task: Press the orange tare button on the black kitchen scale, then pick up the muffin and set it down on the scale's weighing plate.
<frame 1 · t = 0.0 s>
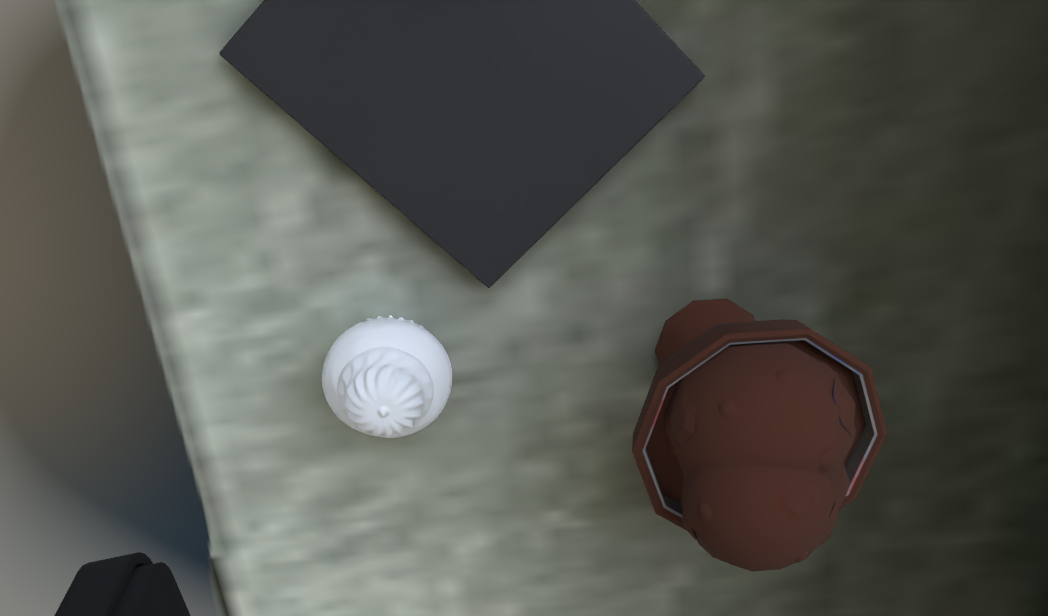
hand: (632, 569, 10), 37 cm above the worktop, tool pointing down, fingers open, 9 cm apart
muffin: (391, 344, 50), on the worktop
scale: (466, 59, 45), on the worktop
ice cream bowl: (707, 345, 52), on the worktop
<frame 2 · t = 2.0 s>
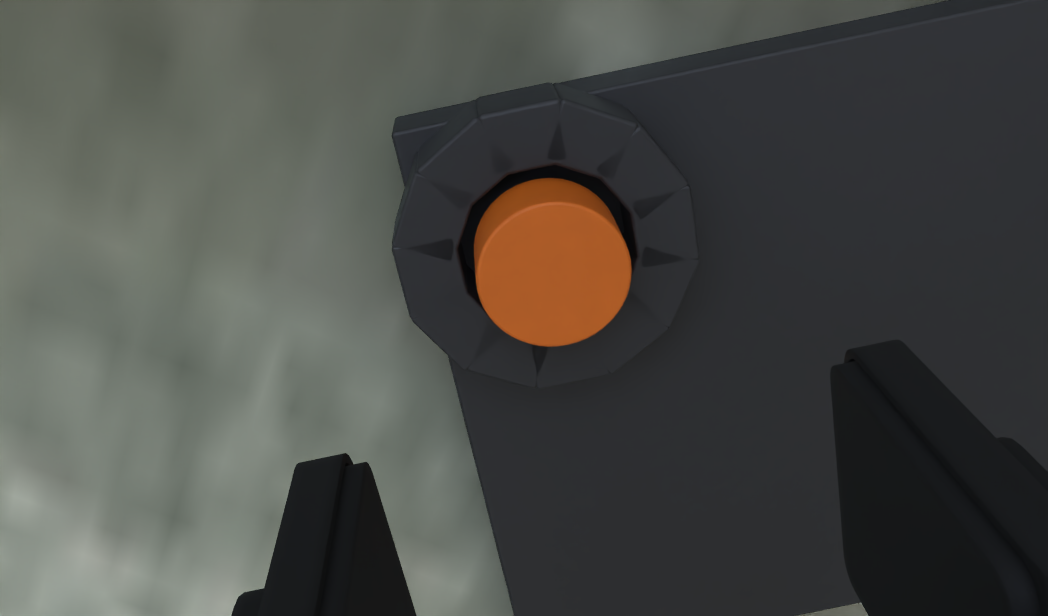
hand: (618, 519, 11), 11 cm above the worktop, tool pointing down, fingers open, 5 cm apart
scale: (801, 336, 23), on the worktop
tare button: (550, 261, 18), point 3 cm above the worktop, slide at 0.1 cm
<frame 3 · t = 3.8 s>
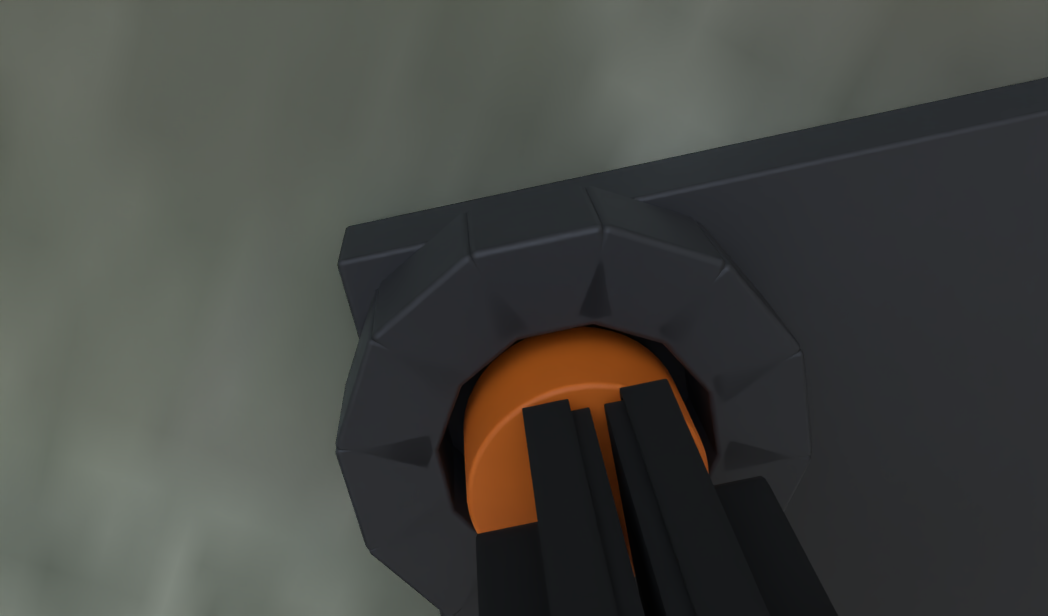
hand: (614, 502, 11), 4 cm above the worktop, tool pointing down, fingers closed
scale: (923, 512, 17), on the worktop
tare button: (580, 455, 12), point 3 cm above the worktop, slide at -0.3 cm, touching gripper
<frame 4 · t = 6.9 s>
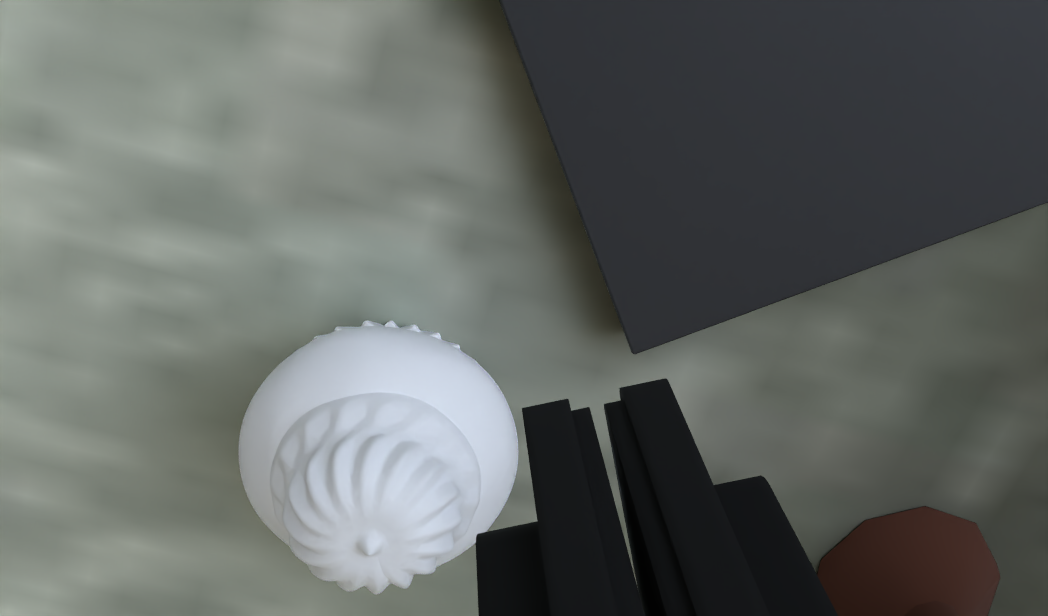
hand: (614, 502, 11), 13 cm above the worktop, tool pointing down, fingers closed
muffin: (389, 377, 25), on the worktop
ice cream bowl: (899, 580, 29), on the worktop
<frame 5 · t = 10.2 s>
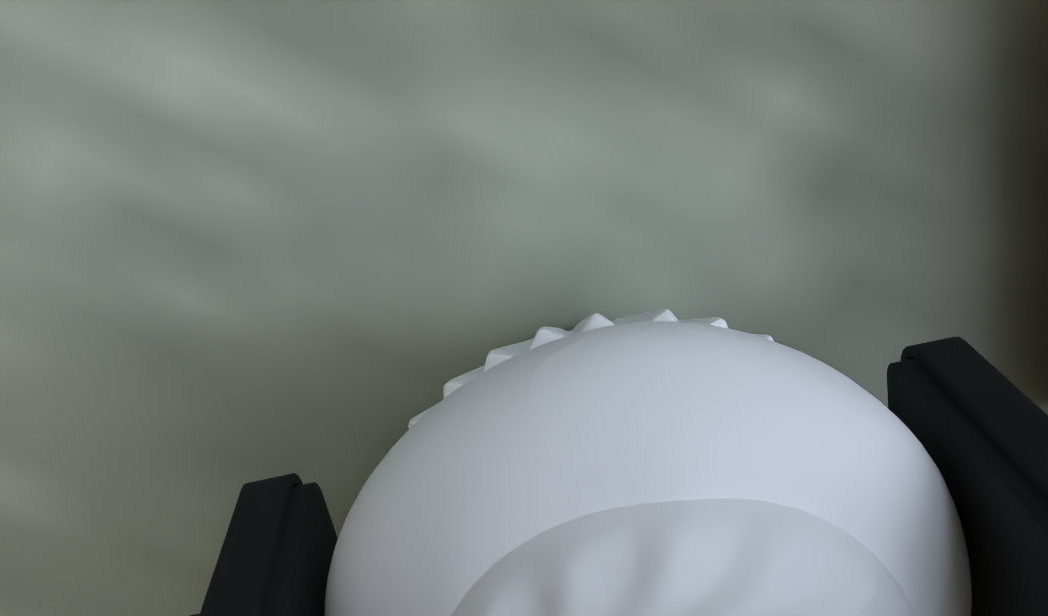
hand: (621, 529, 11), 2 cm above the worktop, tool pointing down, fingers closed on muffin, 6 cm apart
muffin: (594, 426, 13), on the worktop, touching gripper
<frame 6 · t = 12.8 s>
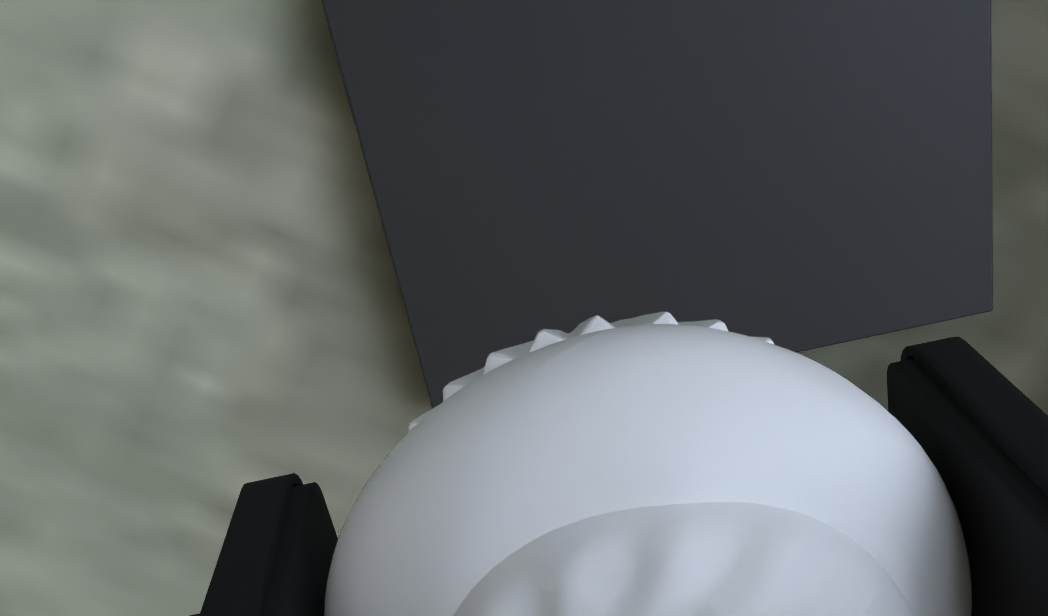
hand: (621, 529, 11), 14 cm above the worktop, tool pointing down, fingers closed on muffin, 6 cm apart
muffin: (594, 428, 13), point 12 cm above the worktop, touching gripper
scale: (658, 36, 23), on the worktop
when the fingers open (3 cm above the worktop, at t = 15.8 s): muffin stays where it is, resting on scale.
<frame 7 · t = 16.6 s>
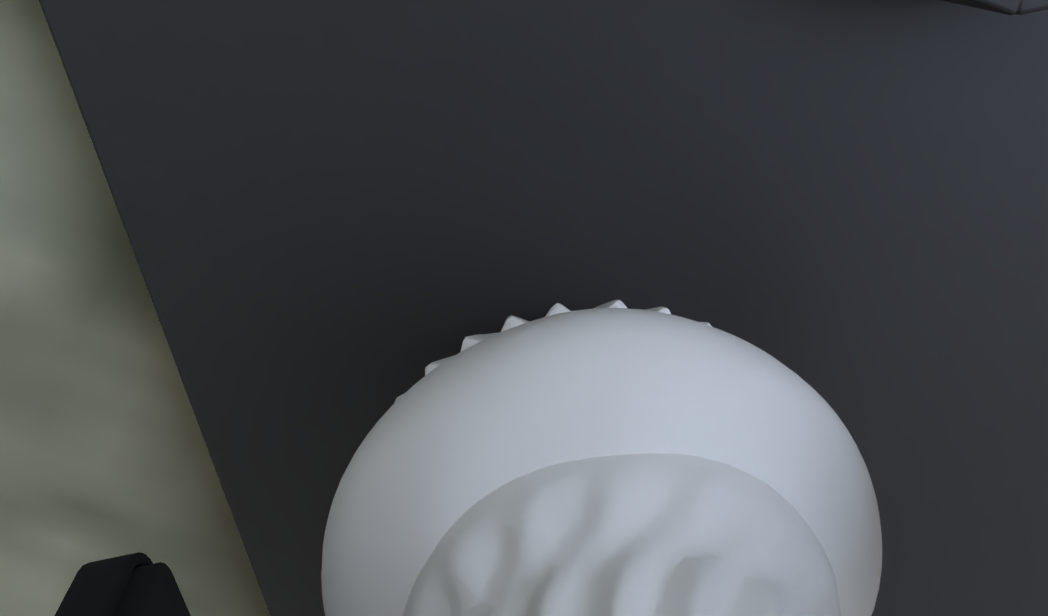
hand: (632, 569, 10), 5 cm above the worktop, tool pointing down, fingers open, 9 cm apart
muffin: (563, 411, 14), point 1 cm above the worktop, touching scale
scale: (660, 228, 15), on the worktop
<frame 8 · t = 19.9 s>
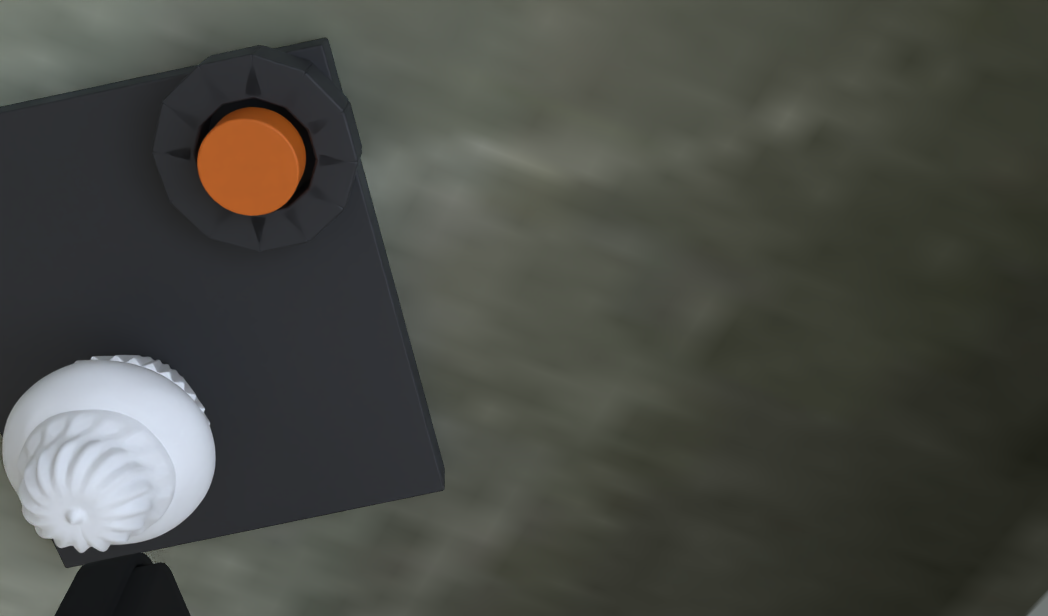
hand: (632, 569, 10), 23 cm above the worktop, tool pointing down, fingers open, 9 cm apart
muffin: (144, 395, 34), point 1 cm above the worktop, touching scale
scale: (190, 316, 34), on the worktop
tare button: (253, 161, 28), point 3 cm above the worktop, slide at 0.1 cm
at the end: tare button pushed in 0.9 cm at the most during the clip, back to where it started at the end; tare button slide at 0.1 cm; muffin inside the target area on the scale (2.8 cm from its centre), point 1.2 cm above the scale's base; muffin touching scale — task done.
